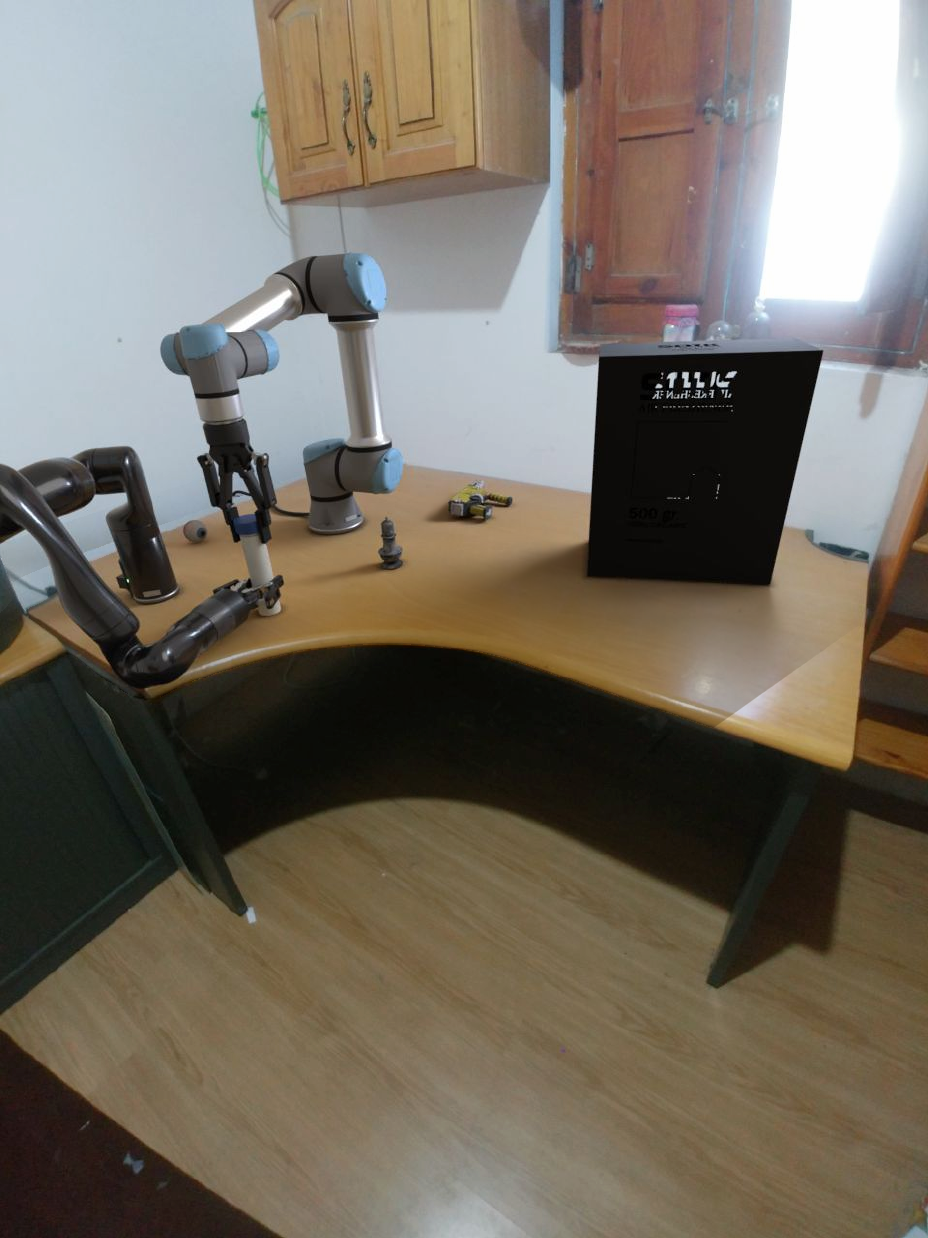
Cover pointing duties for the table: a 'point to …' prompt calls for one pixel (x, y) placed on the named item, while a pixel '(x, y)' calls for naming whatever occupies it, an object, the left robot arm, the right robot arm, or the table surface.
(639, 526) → the cardboard box
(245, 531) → the lid
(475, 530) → the table surface
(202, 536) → the eyeball
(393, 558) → the grey tall stepped piece
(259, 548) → the jar
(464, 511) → the toy gun
